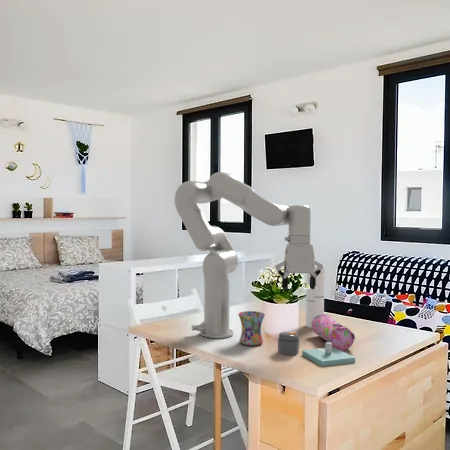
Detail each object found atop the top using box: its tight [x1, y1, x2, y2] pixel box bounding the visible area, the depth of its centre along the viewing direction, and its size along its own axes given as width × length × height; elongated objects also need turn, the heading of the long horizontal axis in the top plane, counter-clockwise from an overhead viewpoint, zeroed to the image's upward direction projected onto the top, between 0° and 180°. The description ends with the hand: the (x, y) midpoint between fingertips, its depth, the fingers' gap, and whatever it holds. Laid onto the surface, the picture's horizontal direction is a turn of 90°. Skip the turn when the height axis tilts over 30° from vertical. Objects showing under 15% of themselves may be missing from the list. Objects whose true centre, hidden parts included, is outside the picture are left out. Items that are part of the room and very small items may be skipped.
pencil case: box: [311, 313, 356, 352], centre depth 172 cm, size 21×9×9 cm, turn 7°
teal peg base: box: [301, 341, 356, 367], centre depth 154 cm, size 12×12×5 cm
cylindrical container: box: [305, 264, 326, 329], centre depth 197 cm, size 7×7×25 cm
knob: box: [277, 331, 300, 357], centre depth 160 cm, size 6×6×6 cm
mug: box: [238, 310, 266, 346], centre depth 171 cm, size 12×9×11 cm
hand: (298, 289), depth 168 cm, fingers open, 9 cm apart
